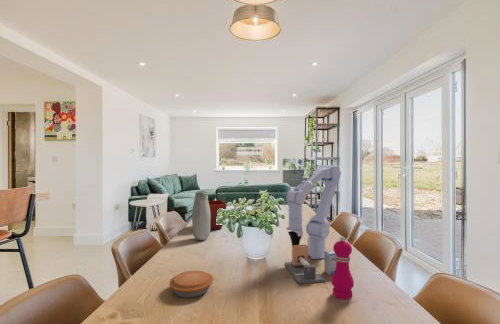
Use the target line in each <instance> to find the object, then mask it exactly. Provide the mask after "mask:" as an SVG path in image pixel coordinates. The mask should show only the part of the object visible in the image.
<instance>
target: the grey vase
mask: <svg viewBox="0 0 500 324" xmlns="http://www.w3.org/2000/svg"><path fill="white" fill-rule="evenodd" d="M208 201H209V195H208V192H207V191H206V190H198V191H196V192H195V194H194V200H193V207H192V211H191V212H192V213H191V220H192V221H191V222H192V228H191V229H192V234H193V237H194V238H195V240H197V241H205V240H207V239H208V238H209V236H210V234H211V230H210V219H211V214H210V207H209V202H208Z"/></svg>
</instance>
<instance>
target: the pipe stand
mask: <svg viewBox="0 0 500 324" xmlns="http://www.w3.org/2000/svg"><path fill="white" fill-rule="evenodd" d="M298 260H299V261H300V262H301V263H302V264H303V265H295V266H294V265H293V264H292V261H284V265H285V267H286V268H287V269H288V271H289V272H290V273H291V275H292V276H293V278H294V279H295V280H296V282H297V283H298V284H299V285H301V284H311V283H313V284H314V283H324V282H325V278H324V277H323V276H322V275H321V274H320V273H319V271H317V268H316V267H317V266H316V265H315V264H311V263H310V262H309V261H308V262H307V261H306V260H305V259H304V258H303V257H302V256H298Z"/></svg>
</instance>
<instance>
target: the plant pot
mask: <svg viewBox="0 0 500 324" xmlns="http://www.w3.org/2000/svg"><path fill="white" fill-rule="evenodd" d="M208 202H209V207H210V214H211V219H210V231H212V230H221V229H222V227H223V225H216V216H217V210H218V209H219V208H223V209H226V210H227V206H228V205H227V204H228V203H226V202H224V201H223V200H222V199H219V200H218V199H217V200H208Z"/></svg>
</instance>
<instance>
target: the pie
mask: <svg viewBox="0 0 500 324" xmlns="http://www.w3.org/2000/svg"><path fill="white" fill-rule="evenodd" d="M214 280H215V279H214V277H213V275H212V273H208V272H207V271H202V270H188V271H187V270H186V271H183V272H181V273H178V274H176V275H175V276H173V277H172V278H171V279H169V285H168V286H170V288H171V289H172V290H173V291H174V293H175V294H176V296H178V297H181V298H184V297H186V298H185V299H187V298H188V299H191V298H190V297H193V298H196V297H197V296H198V297H200V296H202V294H203V295H204V294H206V293H207V291H208V290H209V289H210V286H211V285H212V284H213V282H214Z"/></svg>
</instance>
